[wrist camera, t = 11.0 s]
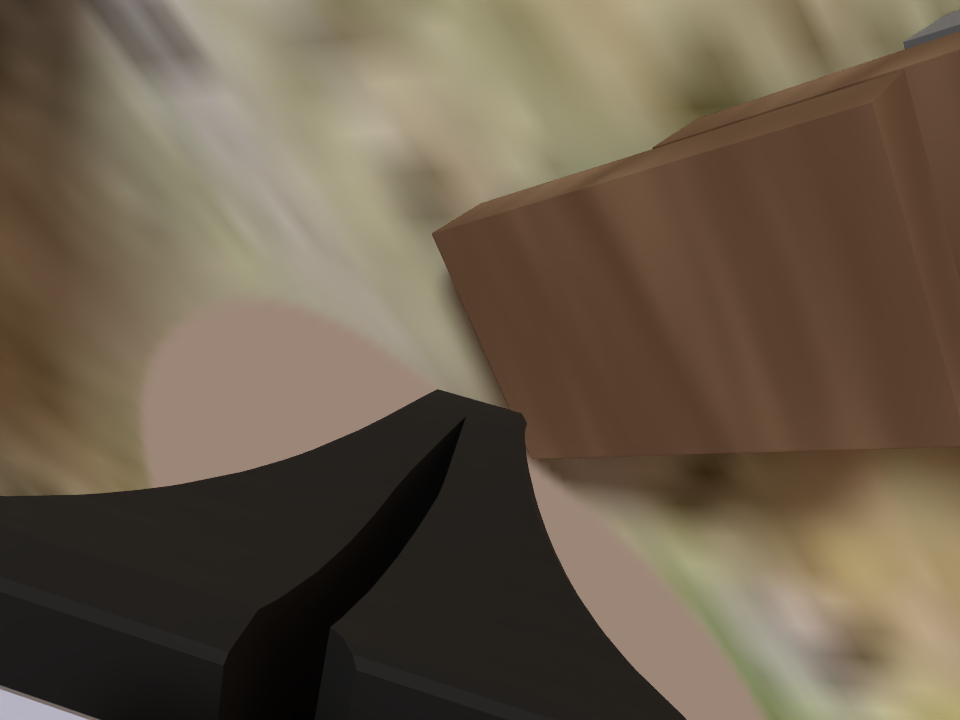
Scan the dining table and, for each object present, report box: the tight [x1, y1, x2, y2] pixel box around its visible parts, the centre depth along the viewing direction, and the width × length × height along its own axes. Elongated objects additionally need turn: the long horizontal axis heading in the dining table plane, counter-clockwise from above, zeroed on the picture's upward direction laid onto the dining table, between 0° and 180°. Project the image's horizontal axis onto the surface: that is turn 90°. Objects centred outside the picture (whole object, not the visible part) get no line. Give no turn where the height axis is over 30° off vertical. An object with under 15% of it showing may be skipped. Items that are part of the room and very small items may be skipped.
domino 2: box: [653, 31, 960, 279], centre depth 13 cm, size 2×5×8 cm
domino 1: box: [432, 70, 960, 459], centre depth 15 cm, size 2×5×8 cm
